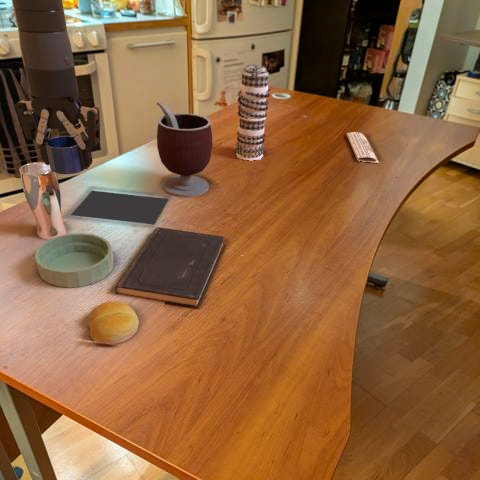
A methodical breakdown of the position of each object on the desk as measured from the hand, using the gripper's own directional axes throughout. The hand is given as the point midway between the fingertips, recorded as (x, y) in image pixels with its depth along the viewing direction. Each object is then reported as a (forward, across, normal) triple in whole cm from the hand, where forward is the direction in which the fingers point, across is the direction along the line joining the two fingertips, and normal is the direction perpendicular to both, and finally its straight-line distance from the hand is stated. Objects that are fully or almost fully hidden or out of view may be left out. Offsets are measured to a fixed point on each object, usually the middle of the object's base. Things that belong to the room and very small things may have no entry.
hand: (68, 165), depth 83 cm
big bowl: (+19, 0, +5) cm, 20 cm away
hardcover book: (+19, -19, 0) cm, 27 cm away
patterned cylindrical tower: (+19, -26, -66) cm, 73 cm away
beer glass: (+20, +10, -7) cm, 23 cm away
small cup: (0, 0, 0) cm, 0 cm away
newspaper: (+19, -62, -82) cm, 105 cm away
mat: (+19, 0, -21) cm, 29 cm away
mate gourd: (+19, -12, -38) cm, 45 cm away
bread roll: (+20, -14, +20) cm, 31 cm away
